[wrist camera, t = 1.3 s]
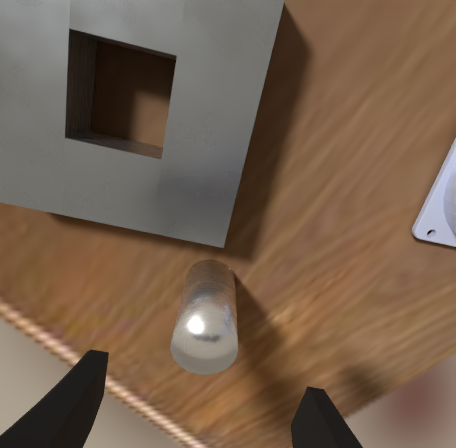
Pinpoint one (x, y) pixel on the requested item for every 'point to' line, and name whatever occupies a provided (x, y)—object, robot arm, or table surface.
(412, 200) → the table surface
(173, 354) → the metal cylinder
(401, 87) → the table surface
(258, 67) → the square hole block
